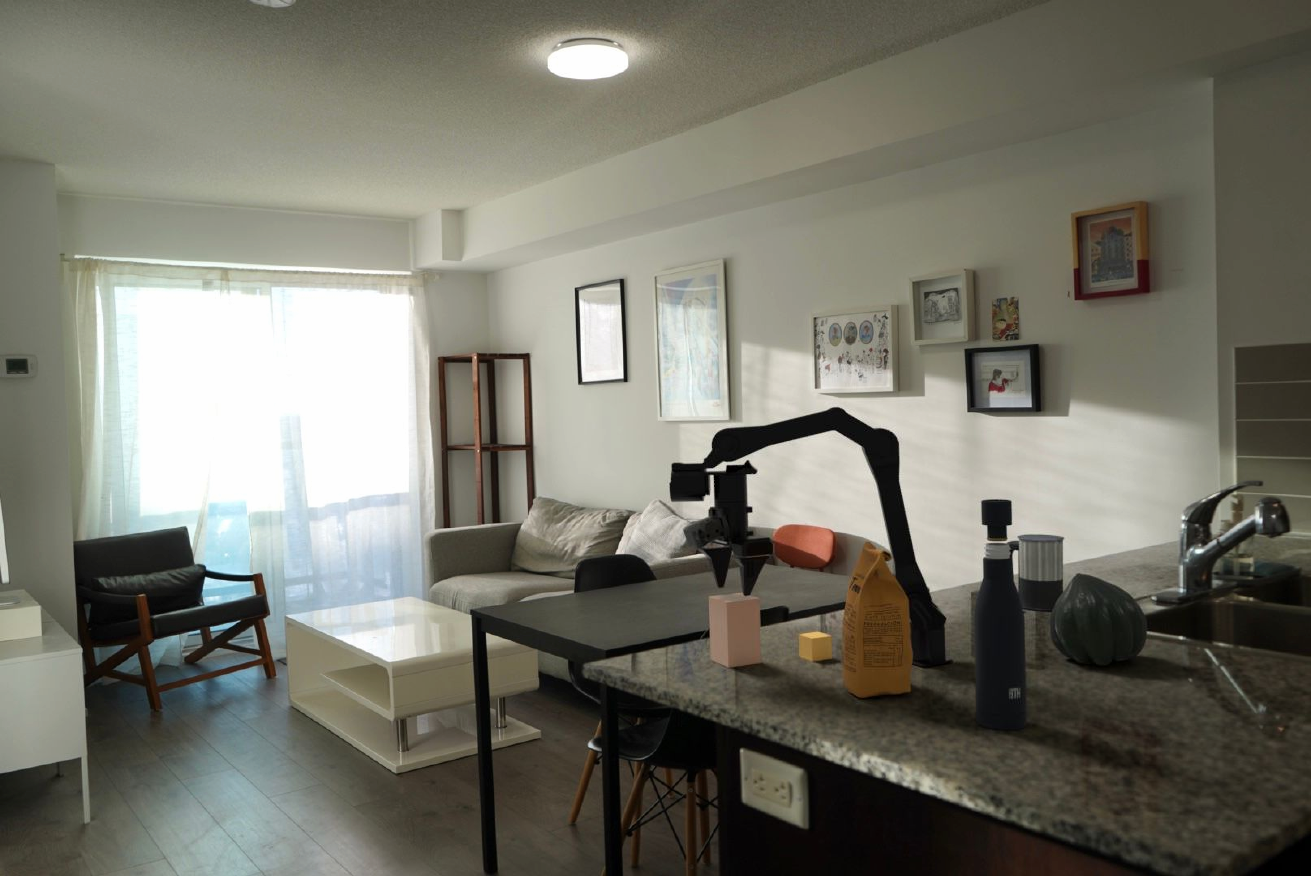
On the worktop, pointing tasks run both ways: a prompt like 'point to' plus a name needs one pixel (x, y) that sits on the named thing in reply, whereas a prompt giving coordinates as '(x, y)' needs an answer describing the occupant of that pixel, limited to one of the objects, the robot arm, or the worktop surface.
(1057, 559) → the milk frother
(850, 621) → the coffee package
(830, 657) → the cube
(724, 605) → the pink rectangular prism
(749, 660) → the pink block
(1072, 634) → the squash
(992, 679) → the navy water bottle
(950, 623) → the worktop surface
